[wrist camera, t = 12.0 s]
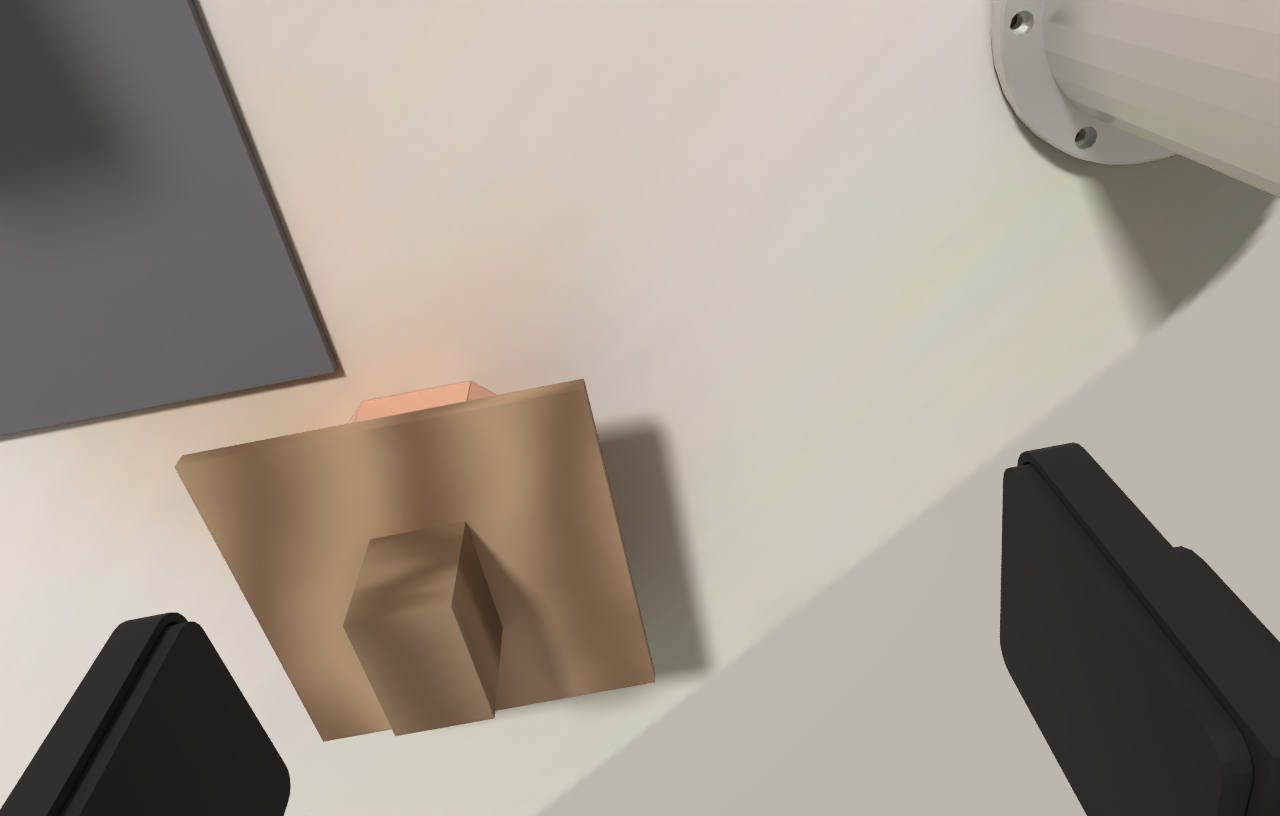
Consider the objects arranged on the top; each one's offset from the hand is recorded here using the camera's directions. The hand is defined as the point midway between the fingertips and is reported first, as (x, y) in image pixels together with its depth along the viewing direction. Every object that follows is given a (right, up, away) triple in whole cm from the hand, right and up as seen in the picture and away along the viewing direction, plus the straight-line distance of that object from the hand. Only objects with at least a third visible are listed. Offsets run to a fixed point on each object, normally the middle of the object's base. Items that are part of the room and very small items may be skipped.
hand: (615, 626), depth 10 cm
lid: (-8, -5, +28) cm, 30 cm away
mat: (-25, +11, +24) cm, 36 cm away
